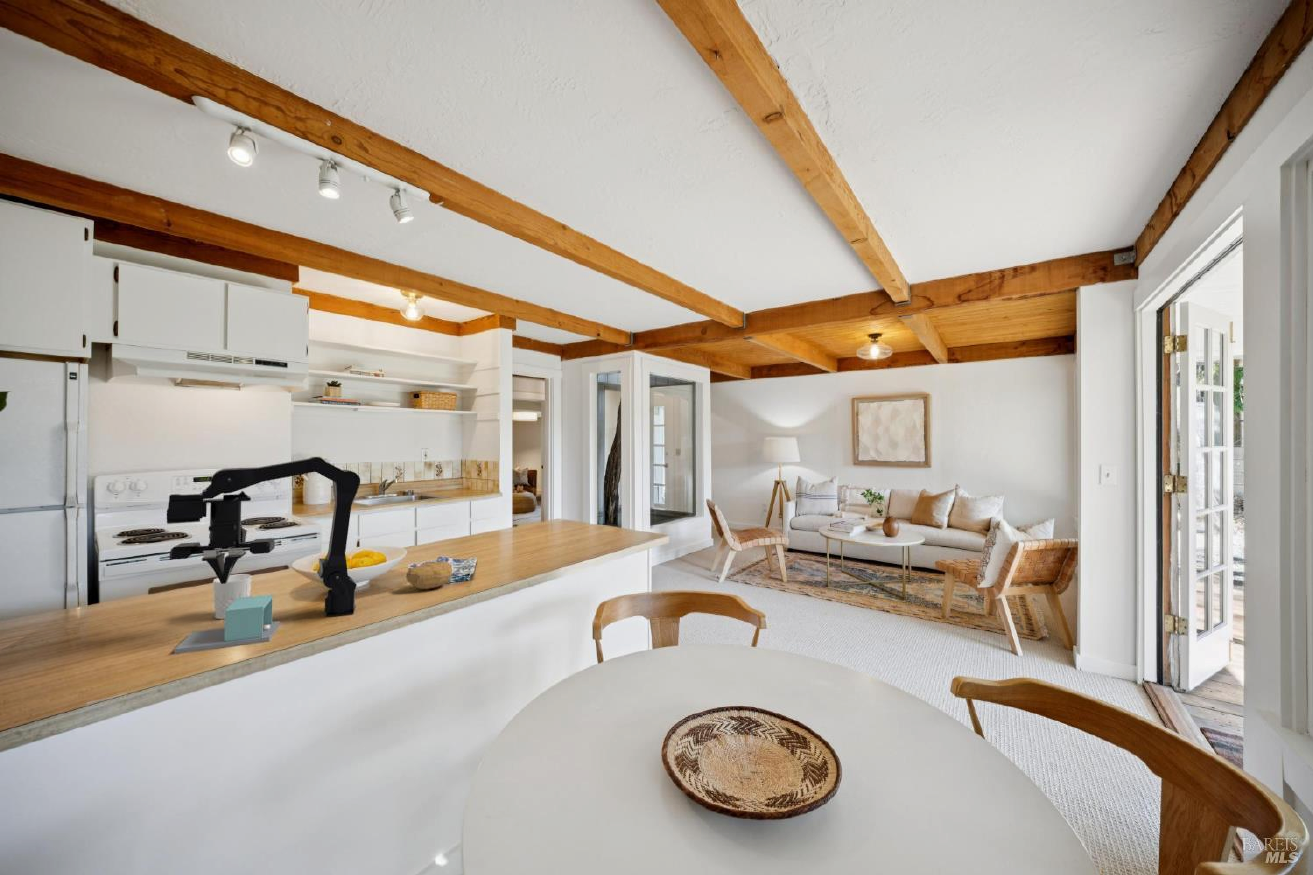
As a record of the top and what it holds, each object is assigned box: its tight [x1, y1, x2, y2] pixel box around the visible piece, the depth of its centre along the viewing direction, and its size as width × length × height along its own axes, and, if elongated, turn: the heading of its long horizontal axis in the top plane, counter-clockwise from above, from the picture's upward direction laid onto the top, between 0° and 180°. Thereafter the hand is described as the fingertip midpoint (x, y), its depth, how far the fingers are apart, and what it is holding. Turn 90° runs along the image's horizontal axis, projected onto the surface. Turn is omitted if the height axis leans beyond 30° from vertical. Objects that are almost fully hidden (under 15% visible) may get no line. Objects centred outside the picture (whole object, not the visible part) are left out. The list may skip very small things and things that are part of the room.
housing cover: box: [224, 594, 274, 642], centre depth 120 cm, size 7×10×7 cm
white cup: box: [212, 573, 252, 620], centre depth 133 cm, size 8×8×10 cm
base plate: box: [173, 620, 281, 655], centre depth 118 cm, size 17×11×2 cm, turn 117°
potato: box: [405, 561, 453, 590], centre depth 160 cm, size 10×14×8 cm
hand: (224, 583), depth 120 cm, fingers closed
